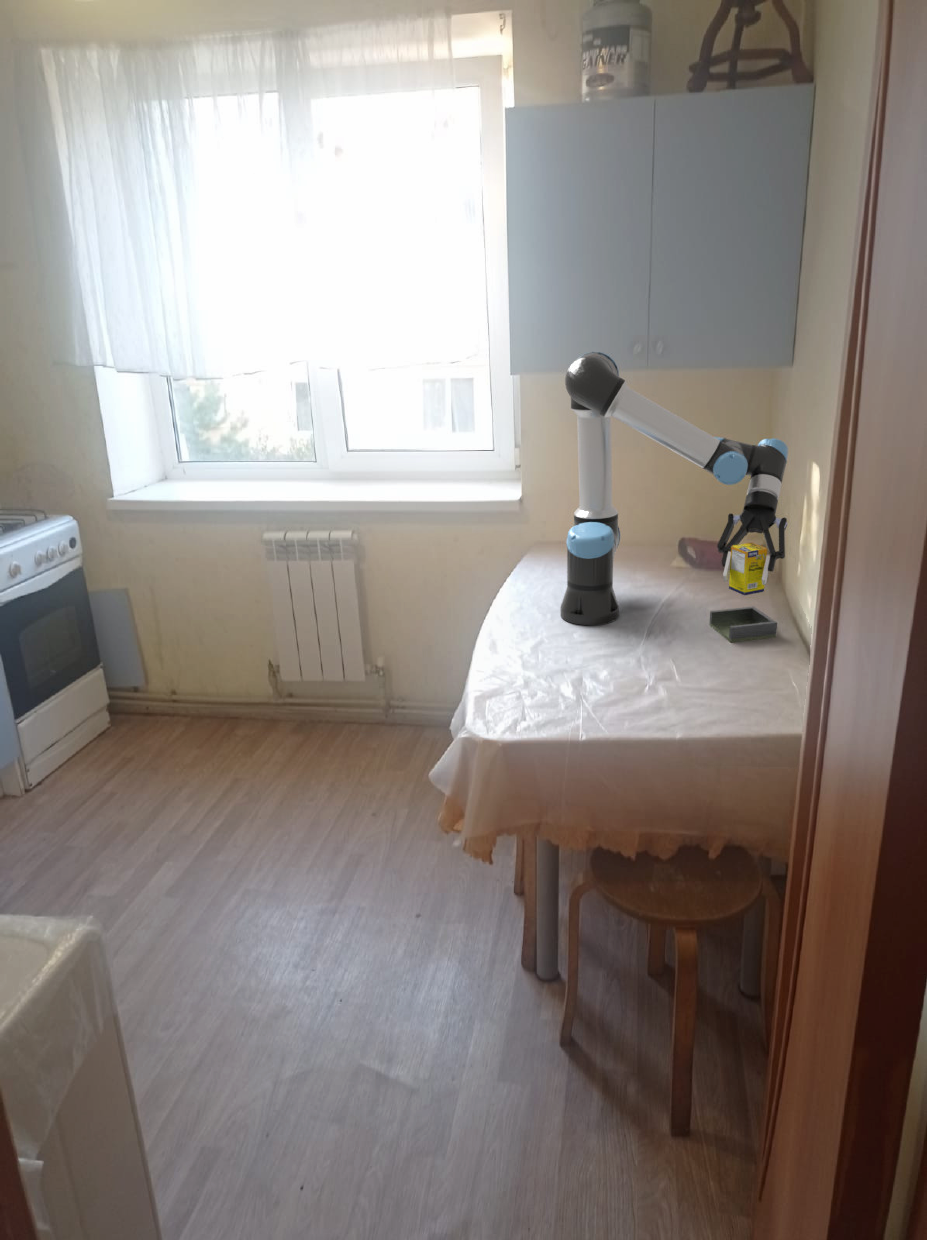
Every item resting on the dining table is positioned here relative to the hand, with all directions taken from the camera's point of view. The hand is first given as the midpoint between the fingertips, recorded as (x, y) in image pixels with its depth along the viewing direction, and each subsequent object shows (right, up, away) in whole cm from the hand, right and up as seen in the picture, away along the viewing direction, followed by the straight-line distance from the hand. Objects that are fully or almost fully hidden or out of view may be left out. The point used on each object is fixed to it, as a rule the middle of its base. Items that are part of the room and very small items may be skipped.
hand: (744, 580), depth 207 cm
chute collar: (+2, -12, +8) cm, 15 cm away
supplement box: (+2, -2, +4) cm, 5 cm away
